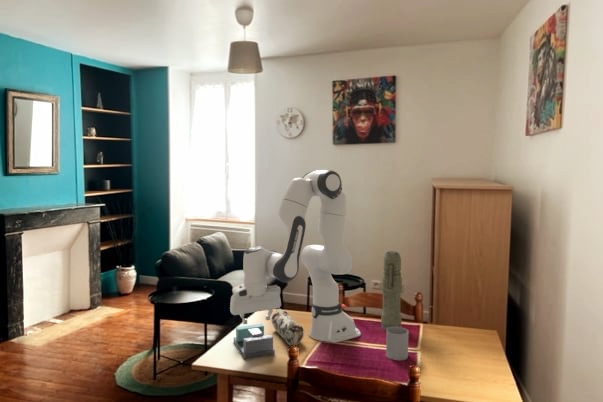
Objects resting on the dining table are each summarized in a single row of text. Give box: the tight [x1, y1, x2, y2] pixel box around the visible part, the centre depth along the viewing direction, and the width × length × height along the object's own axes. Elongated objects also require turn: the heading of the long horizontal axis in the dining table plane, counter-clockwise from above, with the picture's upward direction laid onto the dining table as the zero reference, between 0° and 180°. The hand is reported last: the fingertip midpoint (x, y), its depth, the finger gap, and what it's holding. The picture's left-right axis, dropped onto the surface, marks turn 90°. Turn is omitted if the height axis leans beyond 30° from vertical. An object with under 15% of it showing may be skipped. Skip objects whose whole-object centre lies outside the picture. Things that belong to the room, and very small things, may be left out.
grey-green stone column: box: [380, 250, 403, 332], centre depth 197 cm, size 9×12×35 cm
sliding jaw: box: [235, 323, 265, 342], centre depth 181 cm, size 11×3×5 cm, turn 112°
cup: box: [385, 326, 409, 361], centre depth 170 cm, size 8×8×10 cm
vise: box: [233, 334, 276, 361], centre depth 176 cm, size 12×18×7 cm, turn 22°
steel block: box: [248, 328, 262, 338], centre depth 174 cm, size 4×6×6 cm, turn 22°
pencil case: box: [270, 308, 305, 346], centre depth 189 cm, size 22×8×10 cm, turn 20°
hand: (256, 321), depth 174 cm, fingers open, 8 cm apart
